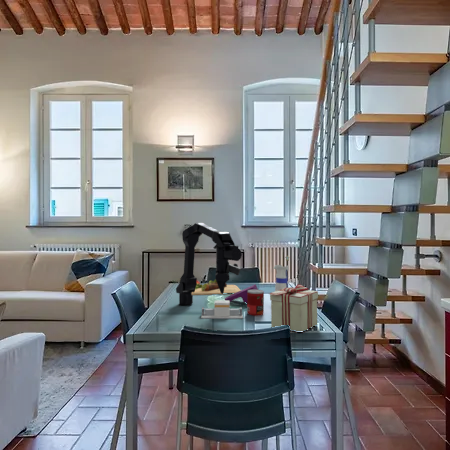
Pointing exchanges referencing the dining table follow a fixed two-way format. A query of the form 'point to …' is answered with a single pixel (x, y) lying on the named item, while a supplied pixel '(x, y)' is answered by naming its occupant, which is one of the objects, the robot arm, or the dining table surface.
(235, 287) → the cutting board
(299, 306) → the gift box
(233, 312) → the light grey long base
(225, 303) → the grey slotted block
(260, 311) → the canned food
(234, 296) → the mounting bracket
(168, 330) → the dining table surface
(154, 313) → the dining table surface
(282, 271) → the water bottle
